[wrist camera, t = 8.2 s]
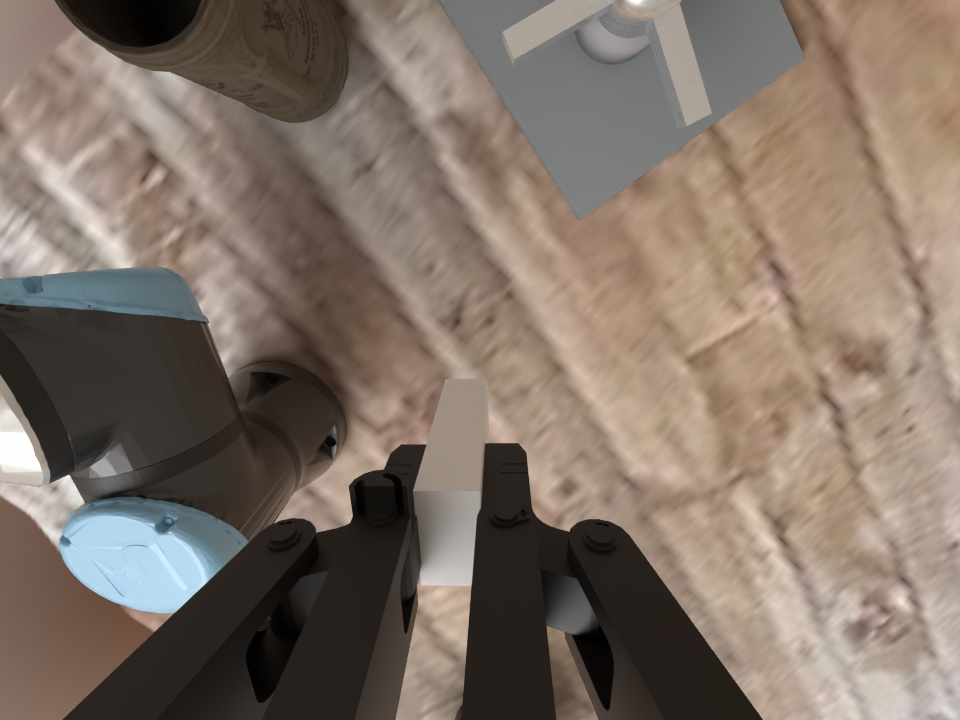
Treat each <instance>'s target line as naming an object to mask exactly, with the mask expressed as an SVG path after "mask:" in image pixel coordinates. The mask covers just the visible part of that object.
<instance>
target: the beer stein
mask: <svg viewBox="0 0 960 720" xmlns="http://www.w3.org/2000/svg"><path fill="white" fill-rule="evenodd" d="M55 2H56V3H57V5H58V6H59V8H60V9H61V11H62V12H63V13H64V14H65V15H66V16H67V18H68V19H69V20H70V21H71V22H72V23H73V24H74V25H75V26H76V27H77V28H78V29H79V30H80V31H81V32H82V33H83V34H85V35H86V36H87V37H88V38H90V39H91V40H92V41H93V42H95V43H97V44H99V45H100V46H102V47H104V48H105V49H106V50H107V51H109V52H110V53H112V54H114V55H115V56H117V57H118V58H120V59H122V60H123V61H125V62H128V63H130V64H133V65H136V66H139V67H142V68H145V69H148V70H152V71H165V72H171V73H174V74H176V75H179V76H181V77H184V78H186V79H188V80H191V81H193V82H196V83H198V84H200V85H203V86H205V87H207V88H209V89H212V90H214V91H216V92H218V93H221V94H223V95H225V96H227V97H230V98H232V99H235V100H237V101H240V102H242V103H244V104H246V105H247V106H249V107H250V108H252V109H254V110H256V111H257V112H260V113H264V114H266V115H268V116H270V117H272V118H275V119H278V120H281V121H285V122H289V123H293V122H304V121H309V120H313V119H314V118H316V117H318V116H320V115H321V114H323V113H325V112H326V111H327V110H328V109H329V108H330V107H331V106H332V105H333V104H334V103H335V101H336V100H337V99H338V97H339V95H340V93H341V91H342V89H343V86H344V82H345V78H346V71H347V53H346V46H345V41H344V37H343V34H342V31H341V29H340V27H339V25H338V23H337V21H336V19H335V17H334V15H333V14H332V13H331V12H330V10H329V9H328V8H327V7H326V6H325V4H324V3H323V2H322V1H321V0H55Z"/></svg>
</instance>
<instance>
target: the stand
mask: <svg viewBox="0 0 960 720" xmlns="http://www.w3.org/2000/svg"><path fill="white" fill-rule="evenodd" d="M438 1H439V2H440V4H441V6H442V7H443V9H444V10H445V12H446V13H447V15H448V17H449V18H450V20H451V21H452V23H453V24H454V26H455V28H456V29H457V31H458V32H459V34H460V35H461V37H462V38H463V40H464V42H465V43H466V45H467V46H468V48H469V49H470V51H471V53H472V54H473V56H474V57H475V59H476V60H477V62H478V64H479V65H480V67H481V68H482V70H483V71H484V73H485V75H486V76H487V78H488V79H489V81H490V82H491V84H492V86H493V87H494V89H495V90H496V92H497V93H498V95H499V97H500V98H501V100H502V101H503V103H504V104H505V106H506V108H507V109H508V111H509V112H510V114H511V115H512V117H513V119H514V120H515V122H516V123H517V125H518V126H519V128H520V130H521V131H522V133H523V134H524V136H525V137H526V139H527V141H528V142H529V144H530V145H531V147H532V148H533V150H534V152H535V153H536V155H537V156H538V158H539V159H540V161H541V162H542V164H543V166H544V167H545V169H546V170H547V172H548V173H549V175H550V177H551V178H552V180H553V181H554V183H555V184H556V186H557V188H558V189H559V191H560V192H561V194H562V195H563V197H564V199H565V200H566V202H567V203H568V205H569V206H570V208H571V210H572V211H573V213H574V214H575V216H576V217H577V219H579V220H581V219H582V218H583V217H585V216H586V215H588V214H589V213H590V212H592V211H593V210H595V209H596V208H597V207H599V206H600V205H602V204H603V203H604V202H606V201H607V200H608V199H610V198H611V197H613V196H614V195H615V194H617V193H618V192H620V191H621V190H622V189H624V188H625V187H627V186H628V185H629V184H631V183H632V182H634V181H635V180H636V179H638V178H639V177H640V176H642V175H643V174H645V173H646V172H647V171H649V170H650V169H652V168H653V167H654V166H656V165H657V164H659V163H660V162H661V161H663V160H664V159H666V158H667V157H668V156H670V155H671V154H672V153H674V152H675V151H677V150H678V149H679V148H681V147H682V146H684V145H685V144H686V143H688V142H689V141H691V140H692V139H693V138H695V137H696V136H697V135H699V134H700V133H702V132H703V131H704V130H706V129H707V128H709V127H710V126H711V125H713V124H714V123H716V122H717V121H718V120H720V119H721V118H723V117H724V116H725V115H727V114H728V113H729V112H731V111H732V110H734V109H735V108H736V107H738V106H739V105H741V104H742V103H743V102H745V101H746V100H748V99H749V98H750V97H752V96H753V95H755V94H756V93H757V92H759V91H760V90H761V89H763V88H764V87H766V86H767V85H768V84H770V83H771V82H773V81H774V80H775V79H777V78H778V77H780V76H781V75H782V74H784V73H785V72H787V71H788V70H789V69H791V68H792V67H793V66H795V65H796V64H798V63H799V62H800V61H802V60H803V59H805V56H804V54H803V52H802V50H801V47H800V45H799V43H798V40H797V38H796V36H795V34H794V31H793V29H792V27H791V25H790V22H789V20H788V18H787V16H786V13H785V11H784V9H783V7H782V4H781V2H780V0H681V2H680V6H681V10H682V13H683V16H684V20H685V23H686V27H687V30H688V33H689V37H690V40H691V44H692V47H693V50H694V54H695V57H696V61H697V64H698V67H699V71H700V74H701V78H702V81H703V84H704V88H705V91H706V94H707V98H708V101H709V105H710V108H711V111H712V113H711V114H709V115H708V116H706V117H704V118H702V119H700V120H698V121H696V122H694V123H692V124H690V125H688V126H686V127H683V128H680V129H677V127H676V124H675V121H674V117H673V114H672V111H671V108H670V105H669V102H668V99H667V96H666V92H665V89H664V86H663V83H662V80H661V77H660V74H659V71H658V67H657V64H656V61H655V58H654V55H653V52H652V49H651V46H650V42H649V39H648V36H647V34H645V35H642V36H639V37H635V38H622V37H618V36H615V35H613V34H611V33H610V32H608V31H607V30H606V29H605V28H604V27H603V26H602V25H601V23H600V22H599V20H598V19H595V20H593V21H591V22H590V23H588V24H586V25H584V26H583V27H581V28H579V29H577V30H576V31H574V32H572V33H571V34H569V35H567V36H565V37H564V38H562V39H560V40H558V41H557V42H555V43H553V44H551V45H550V46H548V47H546V48H544V49H543V50H541V51H539V52H537V53H536V54H534V55H532V56H531V57H529V58H527V59H525V60H524V61H522V62H520V63H518V64H517V65H515V66H513V65H512V62H511V60H510V57H509V55H508V52H507V50H506V47H505V45H504V43H503V31H505V30H506V29H508V28H510V27H511V26H513V25H515V24H516V23H518V22H520V21H522V20H523V19H525V18H527V17H528V16H530V15H532V14H533V13H535V12H537V11H538V10H540V9H542V8H543V7H545V6H547V5H548V4H550V3H552V2H554V1H555V0H438Z"/></svg>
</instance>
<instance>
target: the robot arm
mask: <svg viewBox="0 0 960 720" xmlns="http://www.w3.org/2000/svg"><path fill="white" fill-rule="evenodd" d="M207 323H209V321H208V318H207V317H206V316H204V315H203V314H202V312H201V309H200V307H199V305H198V303H197V300H196V298H195V296H194V294H193V291H192V289H191V287H190V285H189V283H188V282H187V280H186V279H185V278H184V277H183V276H182V275H181V274H179V273H177V272H176V271H173V270H171V269H168V268H163V267H141V268H123V269H108V270H94V271H82V272H70V273H59V274H49V275H43V276H30V277H21V278H6V279H0V483H1V482H3V483H10V484H18V485H25V486H33V487H42V486H45V485H47V484H50V483H52V482H54V481H56V480H58V479H60V478H62V477H65V476H67V475H70V476H71V478H72V480H73V482H74V483H75V485H76V487H77V489H78V491H79V493H80V495H81V496H82V498H83V500H84V503H85V505H83V506H81V507H80V508H78V509H77V510H75V511H74V513H73V514H71V516H70V518H69V520H68V522H67V523H66V524H65V525H64V527H63V530H62V534H63V535H62V536H61V538H60V539H59V546H60V552H61V555H62V557H63V559H64V562H65V563H66V565H67V566H68V568H69V569H70V571H71V572H72V573H73V574H74V575H75V576H76V577H77V578H78V579H79V580H80V581H81V582H82V583H83V584H84V585H86V586H87V587H88V588H90V589H91V590H93V591H94V592H96V593H97V594H99V595H101V596H103V597H105V598H107V599H109V600H111V601H113V602H116V603H119V604H122V605H125V606H127V607H130V608H133V609H137V610H142V611H148V612H156V613H174V614H173V615H172V616H171V617H170V618H169V619H168V620H167V621H166V622H165V623H164V624H163V625H162V626H160V627H159V628H158V629H157V630H156V631H155V632H154V633H153V634H152V635H151V636H150V637H149V638H148V639H147V640H146V641H145V642H144V643H143V644H142V645H141V646H140V647H138V648H137V649H136V650H135V651H134V652H133V653H132V654H131V655H130V656H129V657H128V658H127V659H126V660H125V661H124V662H123V663H122V664H121V665H119V667H118V668H116V669H115V670H114V671H113V672H112V673H111V674H110V675H109V676H108V677H107V678H106V679H105V680H104V681H103V682H102V683H101V684H100V685H99V686H97V688H95V689H94V690H93V691H92V692H91V693H90V694H89V695H88V696H87V697H86V698H85V699H84V700H83V701H82V702H81V703H80V704H78V706H76V707H75V709H73V710H72V711H71V712H70V713H69V714H68V715H67V716H66V717H65V718H64V719H63V720H395V719H396V714H397V708H398V703H399V698H400V693H401V688H402V683H403V678H404V673H405V668H406V663H407V657H408V652H409V647H410V642H411V637H412V632H413V627H414V622H415V617H416V612H417V606H418V594H417V583H418V578H419V573H420V576H421V585H442V586H472V588H471V601H470V614H469V627H468V641H467V654H466V667H465V680H464V693H463V707H462V720H556V714H555V704H554V695H553V685H552V675H551V666H550V656H549V646H548V637H547V627H546V626H549V627H552V628H555V629H558V630H561V631H564V634H565V639H566V641H567V643H568V646H569V648H570V651H571V653H572V656H573V658H574V660H575V663H576V665H577V668H578V670H579V673H580V675H581V677H582V680H583V682H584V685H585V687H586V690H587V692H588V694H589V697H590V699H591V702H592V704H593V707H594V709H595V711H596V714H597V716H598V719H599V720H763V719H762V718H761V716H760V715H759V714H758V712H757V711H756V710H755V708H754V707H753V705H752V704H751V703H750V701H749V700H748V698H747V697H746V696H745V694H744V693H743V692H742V690H741V689H740V687H739V686H738V685H737V683H736V682H735V681H734V679H733V678H732V676H731V675H730V674H729V672H728V671H727V669H726V668H725V667H724V665H723V664H722V663H721V661H720V660H719V658H718V657H717V656H716V654H715V653H714V652H713V650H712V649H711V647H710V646H709V645H708V643H707V642H706V640H705V639H704V638H703V636H702V635H701V634H700V632H699V631H698V629H697V628H696V627H695V625H694V624H693V623H692V621H691V620H690V618H689V617H688V616H687V614H686V613H685V612H684V610H683V609H682V607H681V606H680V605H679V603H678V602H677V600H676V599H675V598H674V596H673V595H672V594H671V592H670V591H669V589H668V588H667V587H666V585H665V584H664V583H663V581H662V580H661V578H660V577H659V576H658V574H657V573H656V571H655V570H654V569H653V567H652V566H651V565H650V563H649V562H648V560H647V559H646V558H645V556H644V555H643V554H642V552H641V551H640V549H639V548H638V547H637V545H636V544H635V542H634V541H633V540H632V538H631V537H630V536H629V534H627V533H626V532H625V531H624V530H623V529H622V528H621V527H619V526H617V525H615V524H613V523H611V522H608V521H604V520H600V519H589V520H584V521H581V522H578V523H577V524H575V525H574V526H573V527H572V528H571V529H570V532H568V531H564V530H560V529H556V528H554V527H551V526H549V525H547V524H545V523H543V522H542V521H541V520H539V519H538V518H537V517H536V515H535V514H534V512H533V509H532V505H531V495H530V485H529V475H528V465H527V455H526V452H525V451H524V449H523V448H522V447H521V446H520V445H519V444H518V443H489V425H488V379H446V380H445V383H444V387H443V390H442V393H441V397H440V400H439V404H438V407H437V411H436V414H435V417H434V421H433V424H432V428H431V431H430V435H429V438H428V441H427V445H400V446H399V447H398V448H397V449H395V450H394V451H393V452H392V453H391V454H390V456H389V459H388V461H387V463H386V466H385V468H384V470H376V471H371V472H368V473H365V474H363V475H361V476H359V477H358V478H356V479H354V481H353V482H352V483H351V484H350V485H349V491H350V498H351V505H352V512H353V518H352V520H351V522H350V524H348V525H346V526H343V527H339V528H336V529H332V530H327V531H322V532H318V533H316V528H315V527H314V525H313V524H312V523H311V522H310V521H307V520H305V519H296V518H291V519H287V520H282V521H279V522H276V523H274V522H275V521H276V519H277V518H278V516H279V514H280V513H281V511H282V510H283V508H284V507H285V505H286V504H287V502H288V501H289V499H290V498H291V496H292V495H293V493H294V492H296V491H297V490H299V489H300V488H302V487H304V486H305V485H307V484H309V483H310V482H312V481H313V480H315V479H317V478H318V477H320V476H321V475H322V474H323V473H325V472H326V471H327V470H328V469H329V467H330V466H331V465H332V464H333V462H334V460H335V459H336V457H337V456H338V454H339V452H340V451H341V449H342V446H343V443H344V440H345V433H346V425H345V418H344V414H343V411H342V408H341V406H340V404H339V402H338V400H337V398H336V397H335V395H334V394H333V393H332V391H331V390H330V389H329V388H328V387H327V386H326V385H325V384H324V383H323V382H322V381H321V380H320V379H319V378H317V377H316V376H314V375H313V374H311V373H310V372H308V371H306V370H304V369H302V368H300V367H297V366H294V365H291V364H287V363H282V362H260V363H255V364H252V365H249V366H246V367H244V368H242V369H241V370H239V371H237V372H236V373H235V374H233V375H232V376H230V377H229V378H228V377H227V375H226V372H225V369H224V367H223V364H222V361H221V359H220V356H219V353H218V351H217V348H216V345H215V343H214V340H213V337H212V335H211V332H210V330H209V327H208V324H207Z"/></svg>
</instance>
